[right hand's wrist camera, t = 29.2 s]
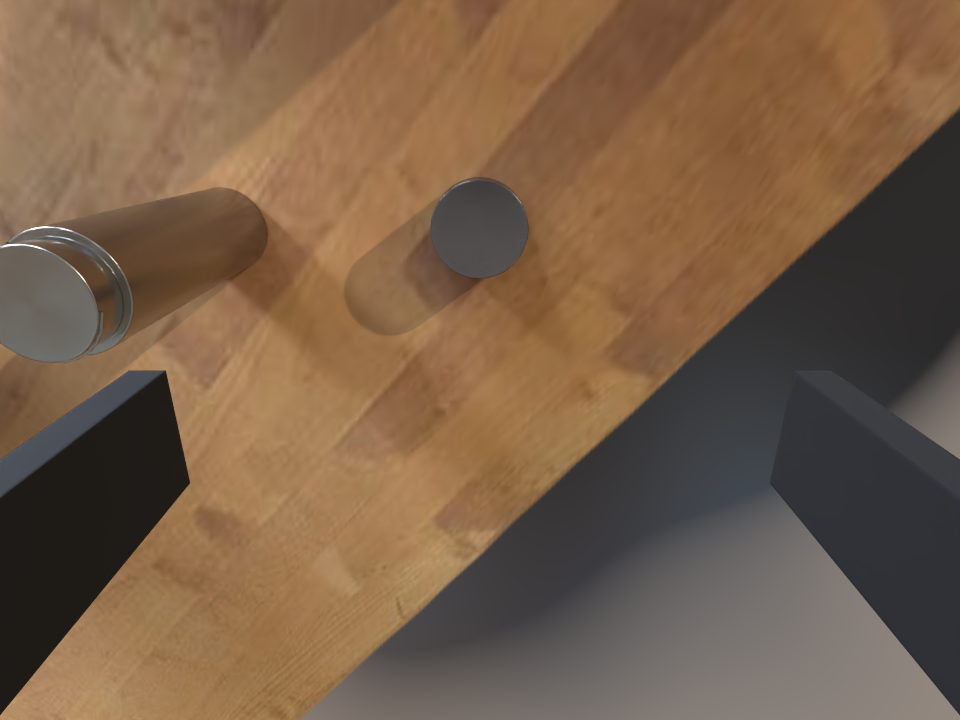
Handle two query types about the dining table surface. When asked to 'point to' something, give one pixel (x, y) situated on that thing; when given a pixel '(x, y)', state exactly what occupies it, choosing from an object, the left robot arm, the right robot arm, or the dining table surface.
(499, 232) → the lid
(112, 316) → the metal thermos flask
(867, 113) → the dining table surface
